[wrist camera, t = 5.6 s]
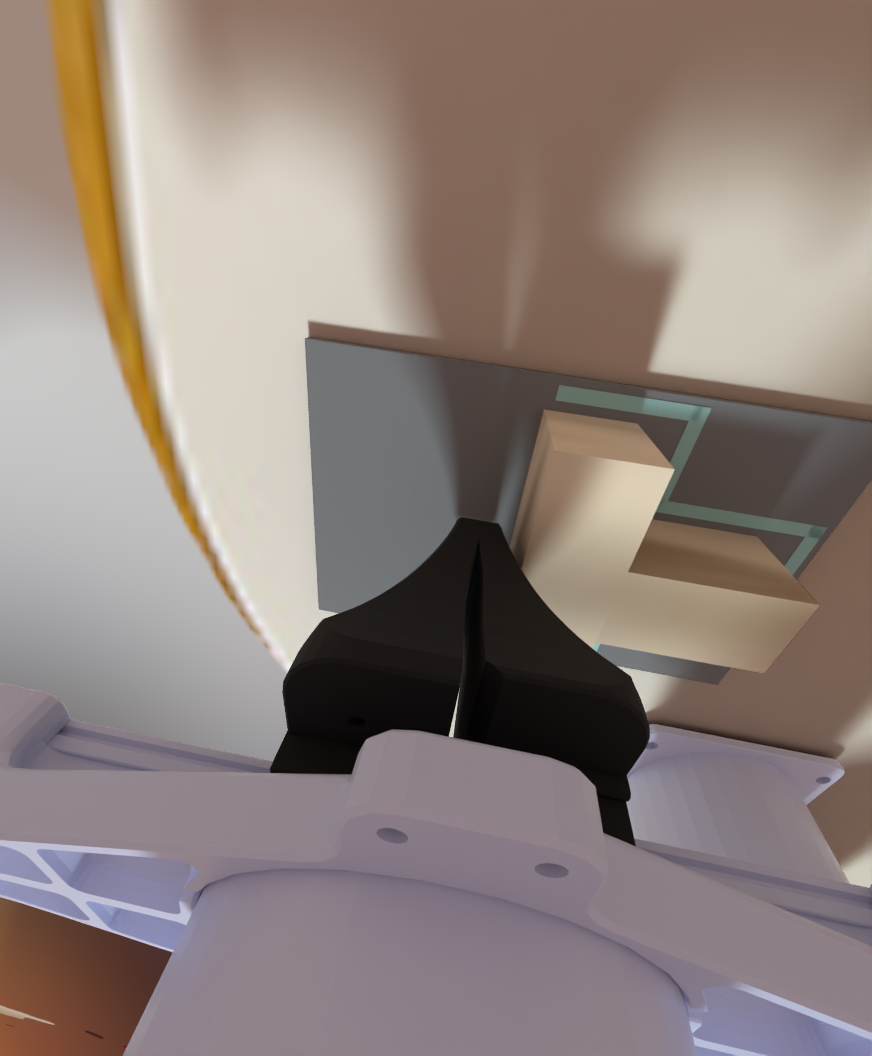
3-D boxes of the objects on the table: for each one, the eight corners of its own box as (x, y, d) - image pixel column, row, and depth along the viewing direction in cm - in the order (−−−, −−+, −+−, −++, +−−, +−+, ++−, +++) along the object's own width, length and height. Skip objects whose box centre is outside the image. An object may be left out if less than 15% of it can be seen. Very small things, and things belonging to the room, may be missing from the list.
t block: (681, 655, 15) (715, 731, 13) (491, 620, 16) (487, 688, 13) (812, 449, 11) (902, 504, 8) (544, 409, 11) (554, 450, 9)
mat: (714, 678, 16) (717, 685, 16) (321, 604, 17) (318, 609, 17) (899, 425, 11) (909, 429, 10) (309, 336, 12) (304, 338, 11)
